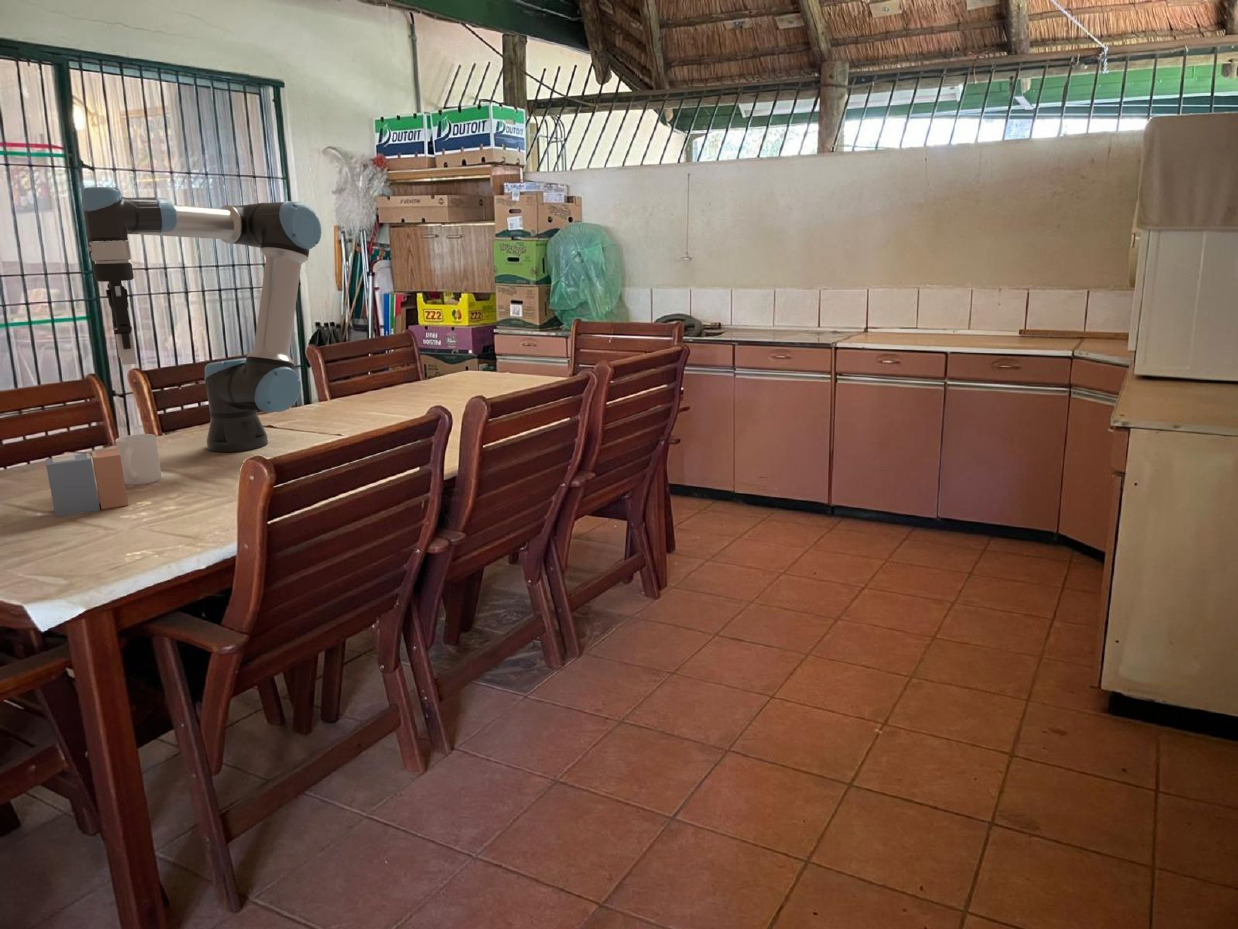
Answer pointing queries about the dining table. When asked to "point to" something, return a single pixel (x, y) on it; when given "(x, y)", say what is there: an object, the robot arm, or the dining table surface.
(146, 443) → the mug
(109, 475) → the stub
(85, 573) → the dining table surface
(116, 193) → the robot arm
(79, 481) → the toy oven block
